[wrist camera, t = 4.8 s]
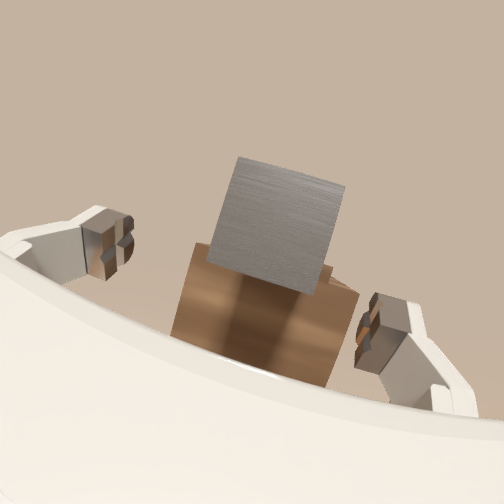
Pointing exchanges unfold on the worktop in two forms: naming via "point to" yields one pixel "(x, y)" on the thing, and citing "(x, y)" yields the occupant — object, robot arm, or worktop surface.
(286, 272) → the metal block
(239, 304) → the wooden slab
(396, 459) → the robot arm
